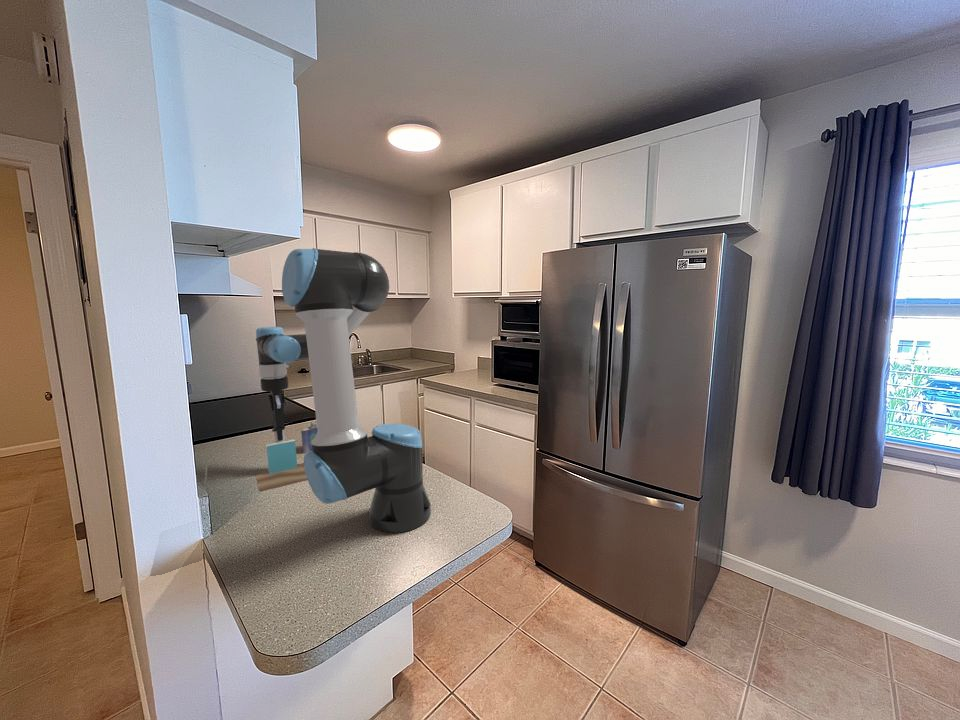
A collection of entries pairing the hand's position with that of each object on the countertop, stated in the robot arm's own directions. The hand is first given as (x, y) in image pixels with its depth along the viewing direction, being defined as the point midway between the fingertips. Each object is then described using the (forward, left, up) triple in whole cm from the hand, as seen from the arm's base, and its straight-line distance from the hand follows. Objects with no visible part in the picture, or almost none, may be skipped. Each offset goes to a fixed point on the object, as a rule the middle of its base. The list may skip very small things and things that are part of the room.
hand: (280, 449), depth 123 cm
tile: (-2, 0, -6) cm, 7 cm away
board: (-7, 0, -7) cm, 10 cm away
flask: (+11, -12, -7) cm, 18 cm away
